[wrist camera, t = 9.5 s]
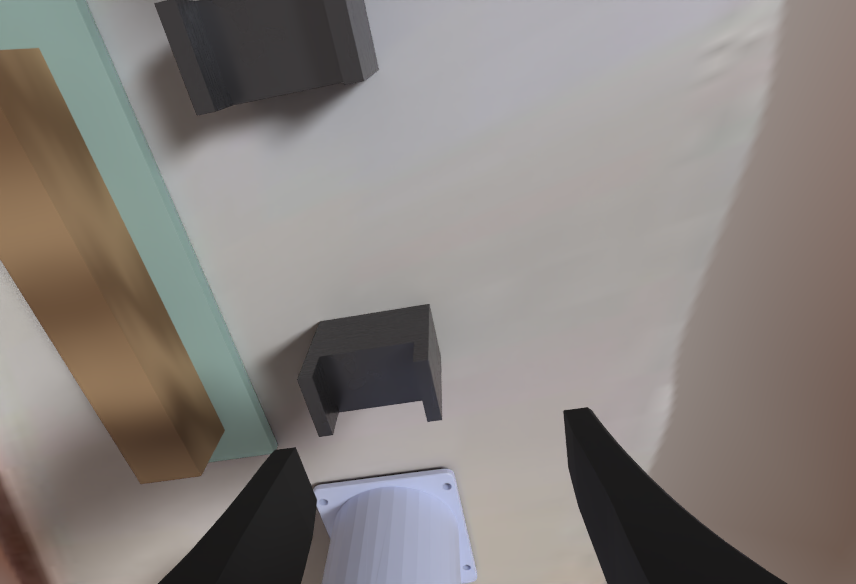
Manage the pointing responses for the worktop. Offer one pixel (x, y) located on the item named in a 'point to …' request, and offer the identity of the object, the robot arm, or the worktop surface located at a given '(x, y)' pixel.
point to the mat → (142, 206)
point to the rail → (94, 282)
